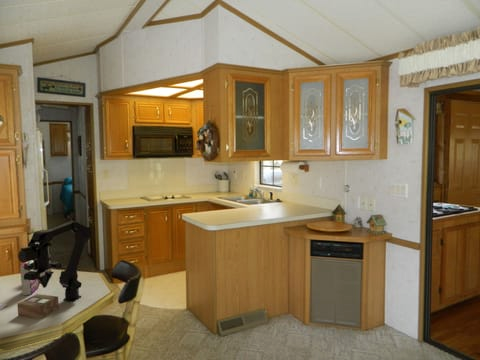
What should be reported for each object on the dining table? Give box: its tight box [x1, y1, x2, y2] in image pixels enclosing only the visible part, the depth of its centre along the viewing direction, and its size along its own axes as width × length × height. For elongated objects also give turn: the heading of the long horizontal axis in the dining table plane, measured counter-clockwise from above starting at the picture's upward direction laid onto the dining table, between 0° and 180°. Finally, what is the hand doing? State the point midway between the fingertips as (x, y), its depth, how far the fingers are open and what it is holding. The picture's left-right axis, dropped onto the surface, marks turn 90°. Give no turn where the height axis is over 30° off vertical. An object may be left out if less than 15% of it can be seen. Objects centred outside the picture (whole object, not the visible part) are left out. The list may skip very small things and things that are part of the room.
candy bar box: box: [19, 260, 40, 296], centre depth 210 cm, size 11×5×16 cm, turn 9°
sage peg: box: [38, 299, 49, 303], centre depth 184 cm, size 4×4×6 cm
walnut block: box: [17, 293, 60, 320], centre depth 185 cm, size 12×13×6 cm
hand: (44, 287), depth 185 cm, fingers closed
